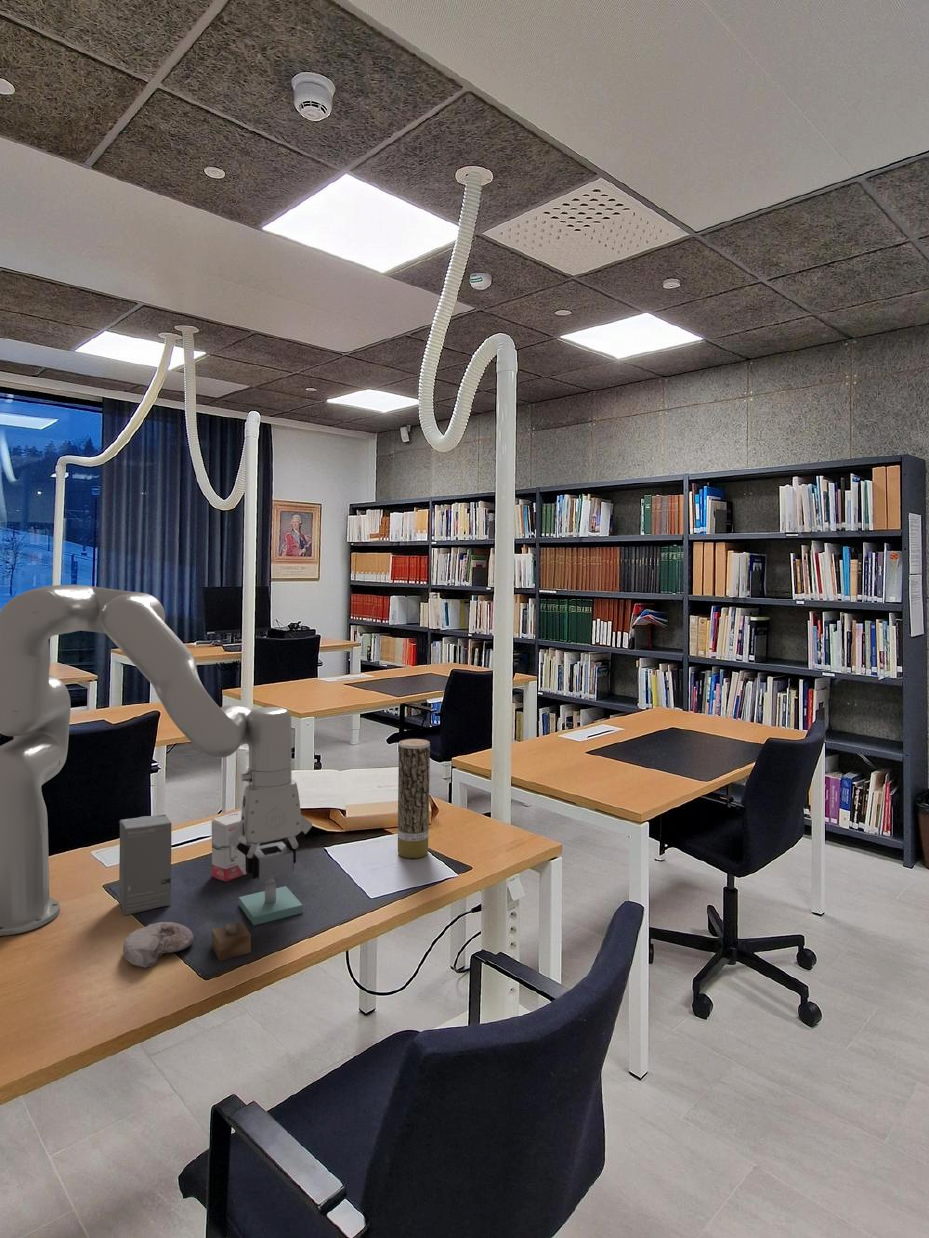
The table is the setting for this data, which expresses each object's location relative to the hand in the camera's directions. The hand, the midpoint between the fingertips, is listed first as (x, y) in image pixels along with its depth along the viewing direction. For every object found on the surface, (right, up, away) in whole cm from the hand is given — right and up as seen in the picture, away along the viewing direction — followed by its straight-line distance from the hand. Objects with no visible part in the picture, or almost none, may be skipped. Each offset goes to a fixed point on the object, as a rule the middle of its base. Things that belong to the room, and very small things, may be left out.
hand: (271, 871), depth 132 cm
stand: (-3, -8, -14) cm, 16 cm away
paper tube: (+24, -6, +27) cm, 37 cm away
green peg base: (0, -7, +1) cm, 7 cm away
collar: (0, 0, 0) cm, 0 cm away
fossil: (-15, -9, -15) cm, 23 cm away
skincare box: (-24, -7, +2) cm, 25 cm away
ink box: (-11, -6, +16) cm, 21 cm away
